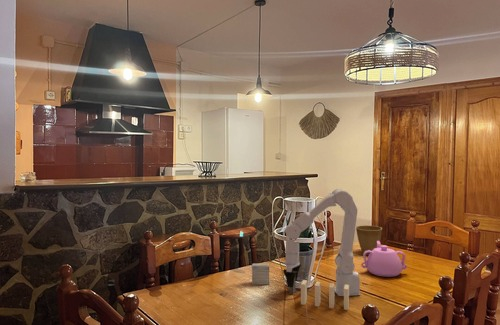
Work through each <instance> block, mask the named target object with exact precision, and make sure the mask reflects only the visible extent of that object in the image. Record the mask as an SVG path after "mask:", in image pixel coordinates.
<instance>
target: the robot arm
mask: <svg viewBox="0 0 500 325" xmlns="http://www.w3.org/2000/svg"><path fill="white" fill-rule="evenodd" d="M337 205H338V206H340V208H341V210H342V211H344V216H343V225H342V232H341V239H340V247H339V248H338V252H337V255H336V256H335V258H334V263H335V265H336V266H337V268H336V269H335V293H336V295H337V296H339V297H344V286H345V285H349V297H352V296H361V292H360V289H361V287H360V283H361V281H360V275H359V273H358V271H354V270H355V263H354V253H353V248H354V241H355V233H356V232H355V231H356V227H357V226H356V225H357V218H358V207H357V205H356V204H355V201H354V198H353V196H352V194H350V193H349V192H348V191H346V190H343V189H341V188H336V189H333V191H332V192H330V193H328V194H327V195H326V196H325V197H324V198H323V199H322V200H320V202H319V203H317V204H316V206H314V207H313V208H312V209H310V211H308V212H307V211H304V212H303V213H302V212H301V213H299V216H298V217H297V218H296V219H294V220H292V221H291V223H290V224H292V225H289V224H288V225H287V226H286V227H285V228H284V229H285V230H284V232H285V234H286V235H287V236H288V237H289V240H287V242H286V241H285V261H284V260H283V262H282V264H283V265H285V267H286V269H283V270H282V273H283V275H284V277H285V279H286V285H287V288H289V287H293V285H294V279H295V282H297V280H298V275H299V272H300V268H301V266H302V264H301V263H300V242H299V243H297V242H294V241H295V240H296V239H297V238H299V237H301V233H302V232H304V231H305V230H306V229H307V228H309V227H310V226H311V225H312V224H314V219H315V217H317V216H318V215H320V214H321V213H323V212H324V211H325V210H326V209H328V208H330V207H336V206H337ZM292 239H295V240H292ZM299 239H300V238H299Z"/></svg>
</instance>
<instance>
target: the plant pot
mask: <svg viewBox="0 0 500 325" xmlns="http://www.w3.org/2000/svg"><path fill="white" fill-rule="evenodd" d="M355 231H356V235H357V239H358V240H357V241H358V244H359V247H360V249H361V252H362V254H363V253H364V252H365V251H367V250H370V251H372V250H373V249H375V248H377V241H380V242H381V238H382V232H383V227H380V226H377V225H358V226H355ZM369 255H370V253H366V255H365V256H367V257H368V256H369Z"/></svg>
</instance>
